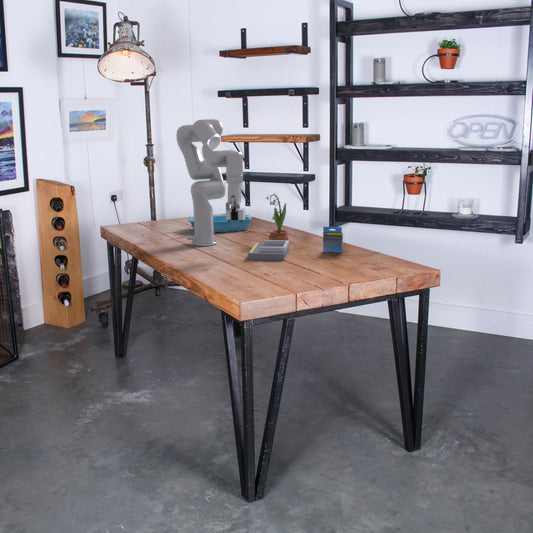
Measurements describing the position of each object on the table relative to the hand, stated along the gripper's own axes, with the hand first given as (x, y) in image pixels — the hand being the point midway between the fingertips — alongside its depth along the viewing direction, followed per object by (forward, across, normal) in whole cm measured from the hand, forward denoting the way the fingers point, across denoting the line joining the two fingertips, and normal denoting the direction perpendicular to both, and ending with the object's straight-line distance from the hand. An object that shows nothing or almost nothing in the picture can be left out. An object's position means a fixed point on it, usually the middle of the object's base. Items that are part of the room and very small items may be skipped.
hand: (235, 218), depth 293 cm
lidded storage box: (+1, 0, 0) cm, 1 cm away
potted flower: (+17, -30, +15) cm, 38 cm away
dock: (+17, -2, +15) cm, 23 cm away
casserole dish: (+18, -64, -21) cm, 69 cm away
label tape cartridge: (+17, -9, +44) cm, 48 cm away
